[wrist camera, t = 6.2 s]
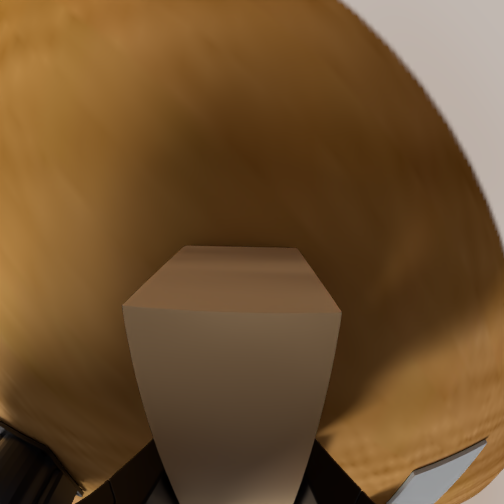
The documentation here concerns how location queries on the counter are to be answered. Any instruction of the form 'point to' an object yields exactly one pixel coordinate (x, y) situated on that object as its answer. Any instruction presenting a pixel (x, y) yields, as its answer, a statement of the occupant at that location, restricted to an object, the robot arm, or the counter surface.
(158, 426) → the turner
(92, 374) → the counter surface
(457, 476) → the mat
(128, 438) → the counter surface
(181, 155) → the counter surface
